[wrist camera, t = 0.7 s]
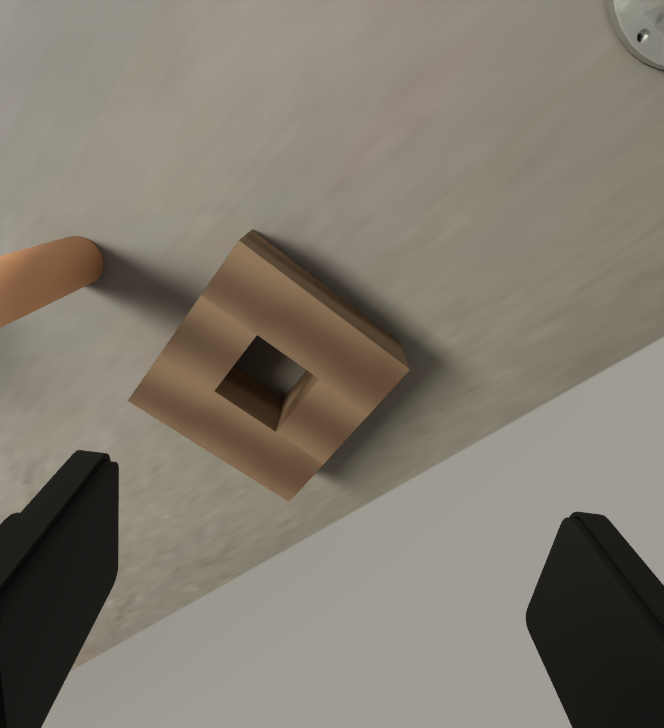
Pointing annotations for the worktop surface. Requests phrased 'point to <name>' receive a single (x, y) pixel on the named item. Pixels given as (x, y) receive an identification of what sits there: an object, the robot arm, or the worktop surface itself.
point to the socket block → (248, 397)
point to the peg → (46, 275)
